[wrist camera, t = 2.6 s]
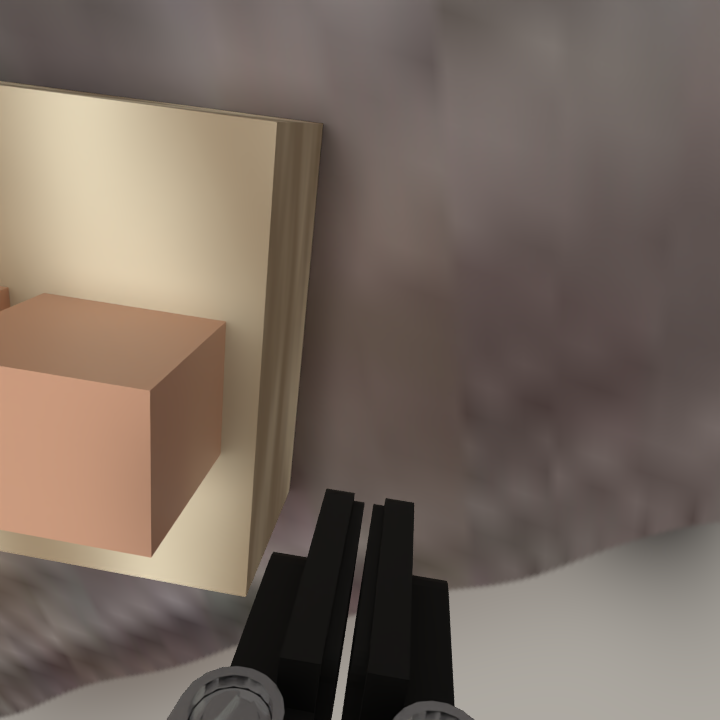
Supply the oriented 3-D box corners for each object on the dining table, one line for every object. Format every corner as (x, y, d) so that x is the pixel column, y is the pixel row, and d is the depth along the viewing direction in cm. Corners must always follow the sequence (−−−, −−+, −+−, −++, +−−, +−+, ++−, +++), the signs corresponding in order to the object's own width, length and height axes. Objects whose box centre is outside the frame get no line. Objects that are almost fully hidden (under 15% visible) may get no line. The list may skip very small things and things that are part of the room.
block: (225, 321, 16) (149, 390, 12) (220, 454, 17) (151, 557, 13) (44, 292, 16) (-94, 350, 12) (53, 425, 18) (-66, 517, 13)
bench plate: (323, 123, 19) (277, 121, 14) (289, 491, 25) (245, 597, 19) (-85, 69, 20) (-281, 48, 15) (-36, 434, 26) (-167, 519, 20)
